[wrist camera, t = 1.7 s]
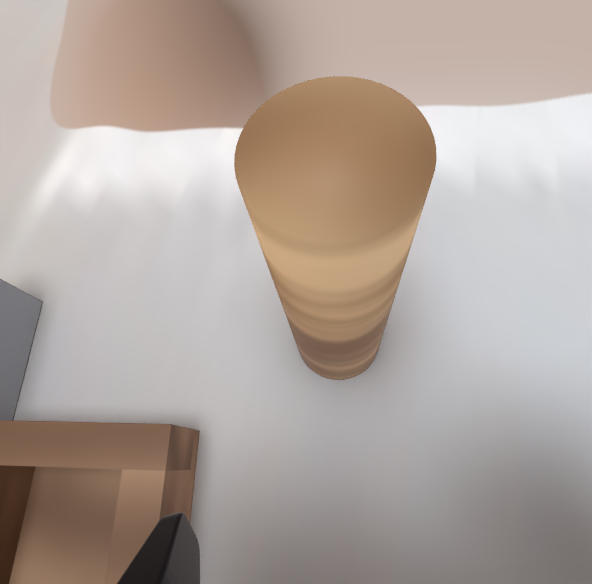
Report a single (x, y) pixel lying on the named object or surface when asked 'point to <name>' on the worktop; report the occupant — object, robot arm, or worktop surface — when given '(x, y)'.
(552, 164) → the worktop surface
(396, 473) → the worktop surface
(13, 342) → the backstop wall
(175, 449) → the socket block
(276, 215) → the dowel
